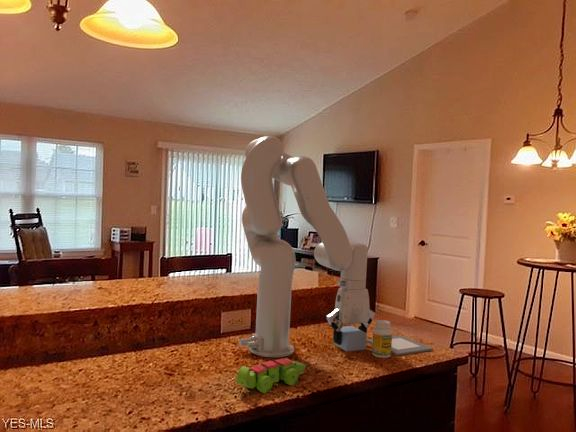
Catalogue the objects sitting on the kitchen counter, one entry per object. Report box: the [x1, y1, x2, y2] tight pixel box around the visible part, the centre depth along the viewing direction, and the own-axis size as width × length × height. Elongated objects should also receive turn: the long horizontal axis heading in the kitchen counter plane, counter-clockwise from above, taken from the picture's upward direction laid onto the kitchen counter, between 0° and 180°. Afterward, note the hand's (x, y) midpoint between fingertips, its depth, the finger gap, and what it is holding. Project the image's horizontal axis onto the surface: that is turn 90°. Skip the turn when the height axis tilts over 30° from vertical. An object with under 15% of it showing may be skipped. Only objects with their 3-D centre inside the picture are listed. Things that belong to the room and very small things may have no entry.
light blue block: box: [332, 325, 368, 352], centre depth 144 cm, size 6×8×5 cm
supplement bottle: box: [371, 319, 393, 359], centre depth 137 cm, size 5×5×10 cm
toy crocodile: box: [236, 357, 307, 394], centre depth 112 cm, size 20×7×6 cm, turn 131°
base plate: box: [366, 334, 434, 357], centre depth 147 cm, size 14×14×1 cm
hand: (349, 341), depth 144 cm, fingers open, 8 cm apart
